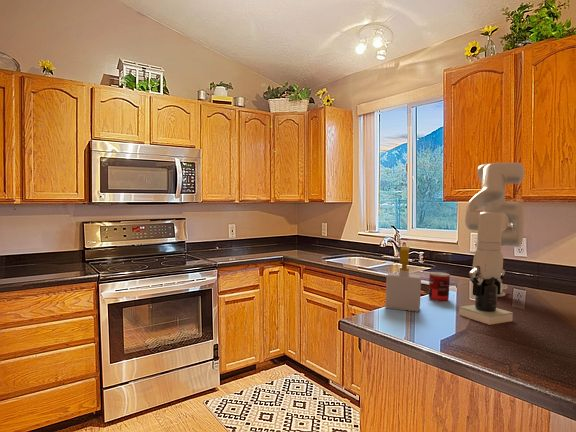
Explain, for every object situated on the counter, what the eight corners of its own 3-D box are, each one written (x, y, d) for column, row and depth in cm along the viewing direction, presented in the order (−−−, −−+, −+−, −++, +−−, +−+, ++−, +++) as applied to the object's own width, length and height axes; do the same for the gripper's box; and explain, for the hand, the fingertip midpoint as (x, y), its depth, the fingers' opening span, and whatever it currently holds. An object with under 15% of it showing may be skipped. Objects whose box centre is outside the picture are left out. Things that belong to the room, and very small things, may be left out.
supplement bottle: (470, 307, 138) (472, 274, 138) (484, 306, 141) (486, 273, 140) (486, 312, 132) (488, 278, 132) (501, 311, 134) (502, 277, 134)
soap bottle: (419, 308, 147) (422, 247, 146) (418, 312, 140) (421, 249, 140) (387, 304, 151) (389, 245, 150) (385, 308, 145) (387, 246, 144)
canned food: (432, 296, 167) (433, 271, 167) (451, 299, 162) (452, 273, 162) (425, 299, 162) (426, 273, 161) (445, 302, 156) (446, 276, 156)
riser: (481, 311, 144) (482, 303, 144) (512, 321, 133) (512, 312, 133) (459, 314, 139) (459, 306, 139) (489, 324, 128) (489, 315, 128)
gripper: (495, 245, 143) (493, 290, 143) (462, 246, 135) (460, 294, 136) (514, 247, 136) (512, 295, 136) (481, 248, 128) (478, 299, 129)
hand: (486, 294), depth 136 cm, fingers open, 9 cm apart
